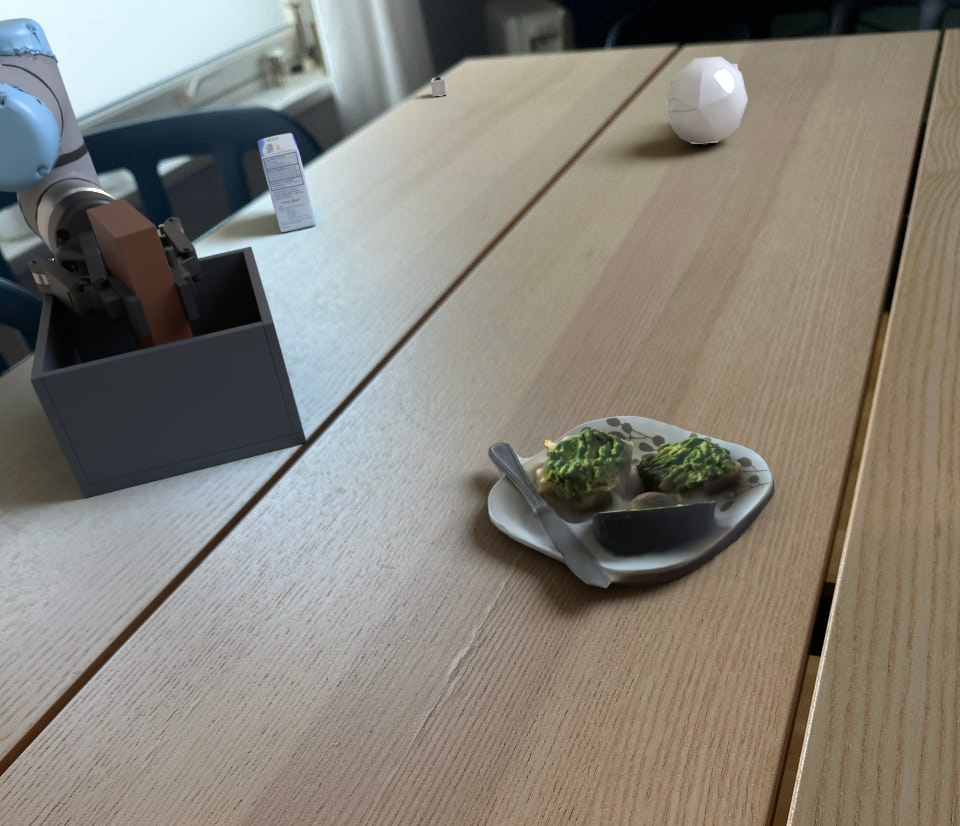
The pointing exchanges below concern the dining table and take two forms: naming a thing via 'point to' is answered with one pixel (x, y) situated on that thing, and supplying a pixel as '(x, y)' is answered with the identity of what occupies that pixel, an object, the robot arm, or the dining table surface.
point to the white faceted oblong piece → (706, 100)
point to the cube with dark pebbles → (439, 86)
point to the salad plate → (629, 499)
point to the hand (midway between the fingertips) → (165, 310)
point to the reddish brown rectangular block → (141, 270)
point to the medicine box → (286, 182)
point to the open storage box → (167, 385)
